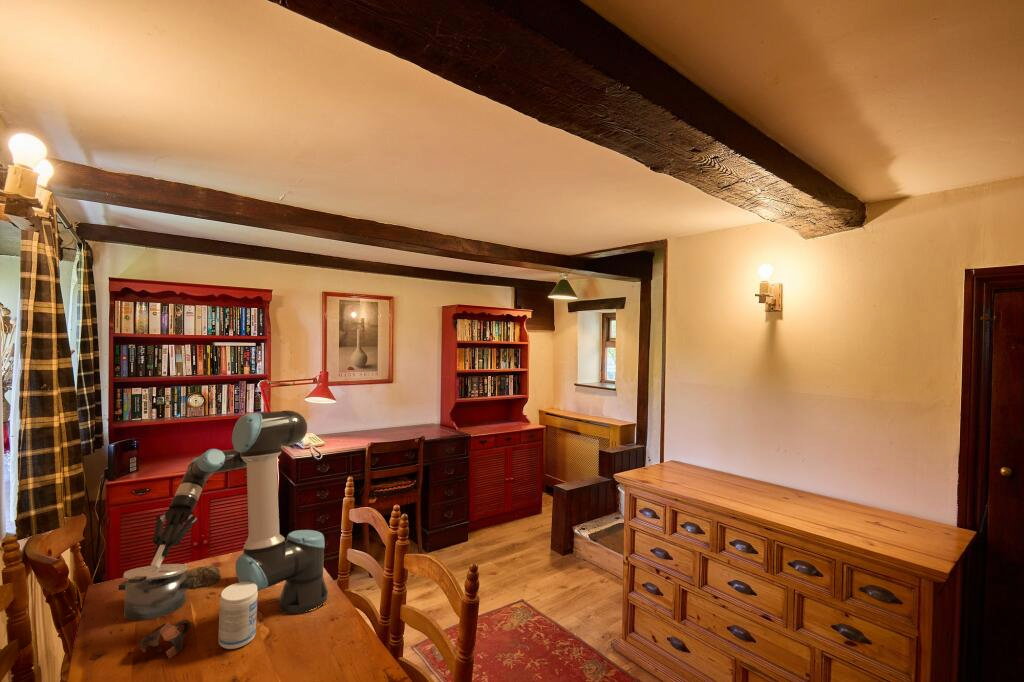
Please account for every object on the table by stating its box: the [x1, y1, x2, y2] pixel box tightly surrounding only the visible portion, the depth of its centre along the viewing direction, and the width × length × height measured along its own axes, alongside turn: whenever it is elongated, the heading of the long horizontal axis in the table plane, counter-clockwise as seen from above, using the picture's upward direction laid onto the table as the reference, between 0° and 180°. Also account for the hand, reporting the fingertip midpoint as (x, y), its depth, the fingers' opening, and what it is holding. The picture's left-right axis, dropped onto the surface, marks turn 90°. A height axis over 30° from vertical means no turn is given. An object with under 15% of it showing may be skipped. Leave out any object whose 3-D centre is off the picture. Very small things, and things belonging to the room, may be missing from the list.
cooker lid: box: [122, 563, 189, 583], centre depth 154 cm, size 20×17×1 cm
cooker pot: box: [117, 571, 194, 622], centre depth 156 cm, size 17×21×9 cm
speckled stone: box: [186, 565, 222, 589], centre depth 174 cm, size 13×12×5 cm
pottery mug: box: [139, 619, 191, 659], centre depth 135 cm, size 12×10×8 cm
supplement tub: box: [217, 581, 259, 650], centre depth 139 cm, size 10×10×15 cm
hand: (155, 566), depth 156 cm, fingers closed
